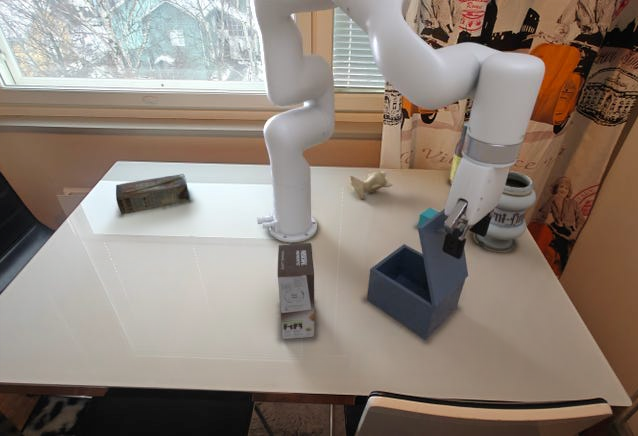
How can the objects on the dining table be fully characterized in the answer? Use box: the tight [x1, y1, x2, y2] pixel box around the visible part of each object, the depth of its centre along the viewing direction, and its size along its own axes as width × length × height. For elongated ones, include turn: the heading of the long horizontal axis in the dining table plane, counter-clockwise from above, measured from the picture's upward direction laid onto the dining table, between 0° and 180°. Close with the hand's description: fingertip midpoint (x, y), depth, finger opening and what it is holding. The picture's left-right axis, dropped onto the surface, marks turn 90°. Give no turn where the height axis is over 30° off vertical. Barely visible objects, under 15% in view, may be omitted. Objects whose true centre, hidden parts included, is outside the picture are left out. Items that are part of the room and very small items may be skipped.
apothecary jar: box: [472, 170, 537, 253], centre depth 94 cm, size 12×12×18 cm
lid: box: [417, 208, 474, 307], centre depth 68 cm, size 15×12×5 cm
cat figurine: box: [349, 170, 393, 200], centre depth 117 cm, size 8×7×12 cm
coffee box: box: [277, 242, 316, 340], centre depth 73 cm, size 9×6×16 cm
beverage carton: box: [115, 173, 191, 216], centre depth 112 cm, size 8×19×7 cm, turn 113°
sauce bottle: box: [449, 121, 469, 185], centre depth 118 cm, size 7×6×20 cm
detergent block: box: [417, 207, 440, 228], centre depth 102 cm, size 4×4×4 cm
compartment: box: [366, 243, 466, 341], centre depth 79 cm, size 15×12×9 cm
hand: (464, 243), depth 65 cm, fingers open, 7 cm apart
